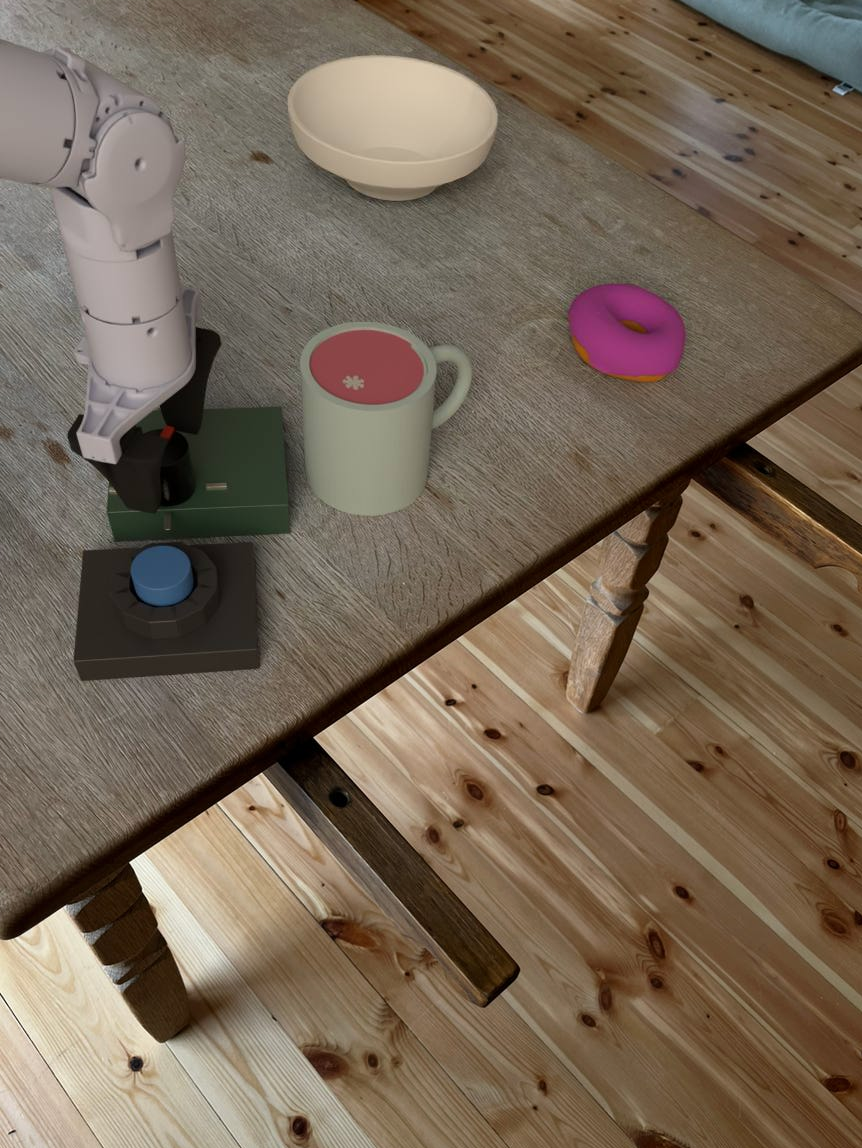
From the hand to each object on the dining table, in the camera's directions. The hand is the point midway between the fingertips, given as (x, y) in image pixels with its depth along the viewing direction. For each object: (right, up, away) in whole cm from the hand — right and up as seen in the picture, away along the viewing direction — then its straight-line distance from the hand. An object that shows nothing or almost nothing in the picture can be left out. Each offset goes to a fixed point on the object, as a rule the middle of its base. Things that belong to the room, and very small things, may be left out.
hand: (164, 467), depth 70 cm
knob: (0, -1, +2) cm, 2 cm away
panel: (+1, 0, +6) cm, 6 cm away
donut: (+33, +13, +20) cm, 41 cm away
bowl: (+12, +34, +33) cm, 49 cm away
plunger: (+1, -8, -4) cm, 9 cm away
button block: (+1, -10, -1) cm, 10 cm away
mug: (+14, +2, +10) cm, 18 cm away
